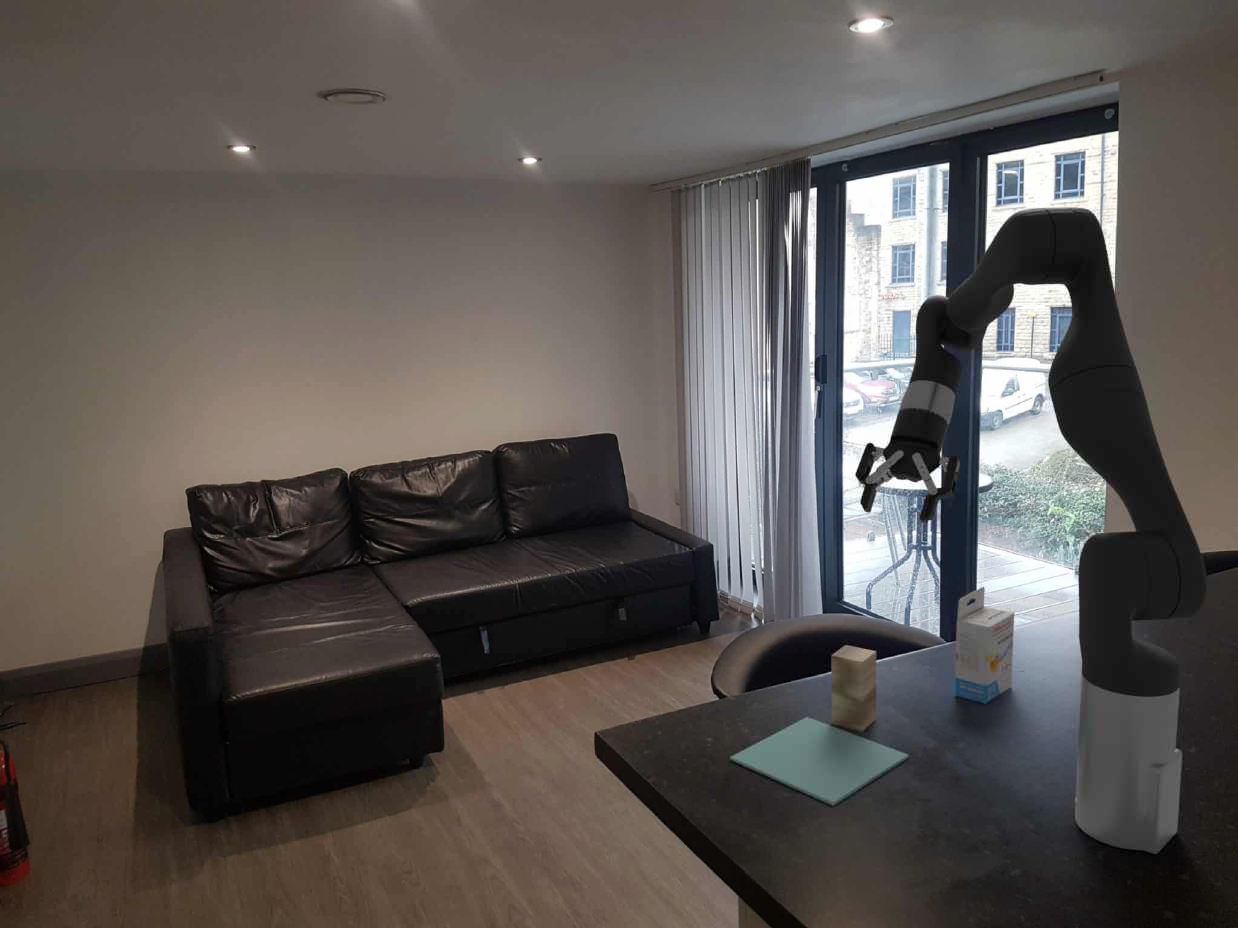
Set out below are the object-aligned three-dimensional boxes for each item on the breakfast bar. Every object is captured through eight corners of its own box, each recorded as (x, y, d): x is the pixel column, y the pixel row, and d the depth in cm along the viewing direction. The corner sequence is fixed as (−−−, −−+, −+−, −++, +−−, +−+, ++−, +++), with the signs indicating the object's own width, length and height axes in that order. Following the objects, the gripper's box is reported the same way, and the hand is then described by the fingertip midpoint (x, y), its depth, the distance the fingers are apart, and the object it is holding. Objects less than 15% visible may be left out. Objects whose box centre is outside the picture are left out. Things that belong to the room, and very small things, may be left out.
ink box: (987, 705, 135) (989, 606, 132) (953, 696, 139) (955, 599, 136) (1013, 686, 141) (1016, 591, 138) (980, 678, 144) (983, 585, 142)
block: (875, 719, 132) (876, 651, 131) (862, 731, 129) (862, 661, 127) (845, 711, 135) (845, 644, 133) (831, 723, 132) (831, 655, 130)
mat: (908, 757, 121) (908, 754, 121) (833, 805, 111) (833, 802, 111) (806, 719, 133) (806, 716, 133) (730, 759, 123) (730, 756, 123)
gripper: (871, 400, 144) (841, 497, 140) (967, 412, 136) (938, 515, 132) (883, 422, 150) (854, 516, 146) (976, 435, 142) (948, 534, 138)
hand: (894, 516), depth 139 cm, fingers open, 8 cm apart
